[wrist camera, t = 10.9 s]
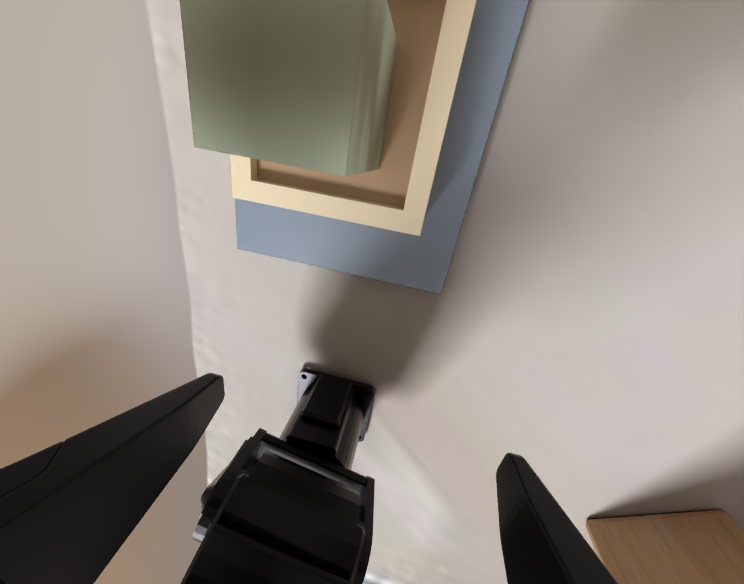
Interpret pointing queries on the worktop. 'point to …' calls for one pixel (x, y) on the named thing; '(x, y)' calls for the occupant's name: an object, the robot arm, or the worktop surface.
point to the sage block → (291, 80)
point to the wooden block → (670, 548)
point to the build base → (445, 191)
